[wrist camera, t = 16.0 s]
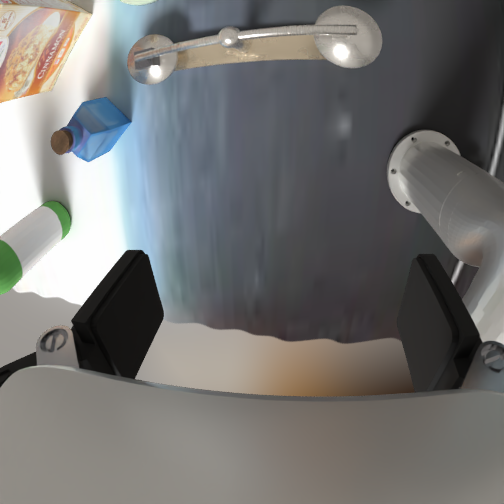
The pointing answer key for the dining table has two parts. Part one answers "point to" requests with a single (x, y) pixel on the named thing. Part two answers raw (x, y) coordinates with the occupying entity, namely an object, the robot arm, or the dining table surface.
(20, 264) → the wine bottle
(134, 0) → the sage dish
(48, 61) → the coffeecake box
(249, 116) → the dining table surface
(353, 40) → the balance scale
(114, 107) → the perfume bottle
